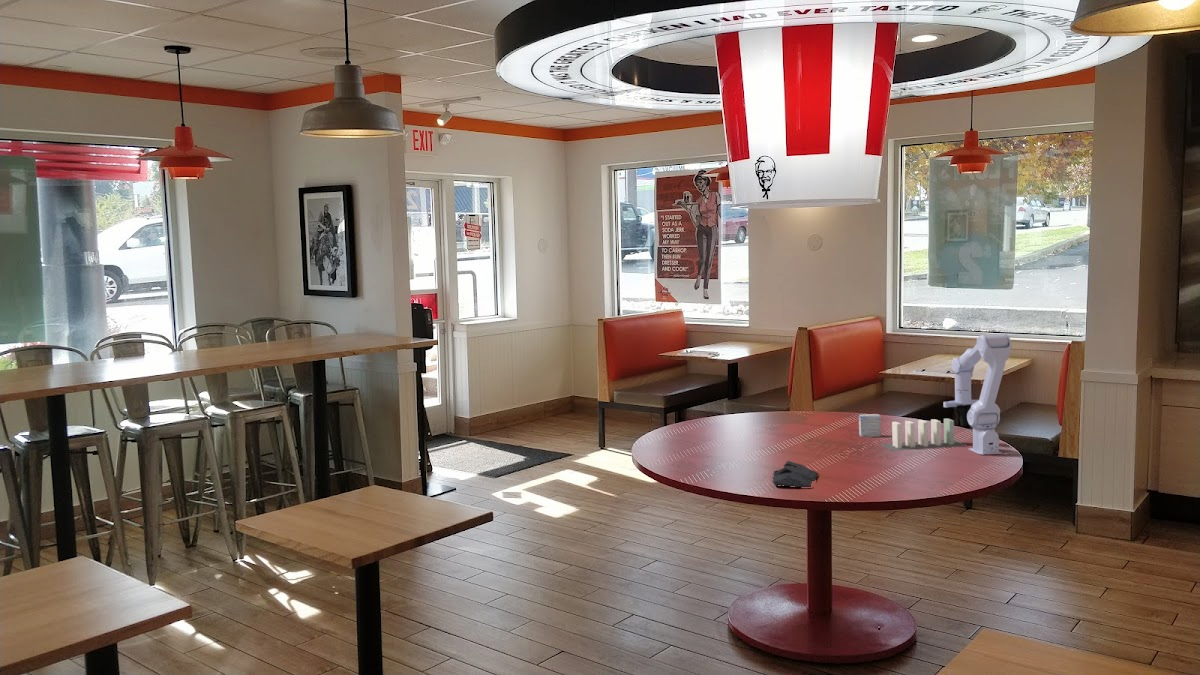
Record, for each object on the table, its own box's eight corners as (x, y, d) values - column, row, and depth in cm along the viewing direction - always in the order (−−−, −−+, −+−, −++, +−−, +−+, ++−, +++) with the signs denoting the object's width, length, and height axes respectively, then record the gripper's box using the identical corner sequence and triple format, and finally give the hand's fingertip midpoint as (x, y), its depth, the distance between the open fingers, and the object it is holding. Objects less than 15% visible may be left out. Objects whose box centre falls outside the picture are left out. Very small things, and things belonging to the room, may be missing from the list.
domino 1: (896, 445, 350) (896, 421, 349) (901, 447, 345) (901, 423, 344) (892, 445, 350) (892, 421, 349) (897, 448, 345) (897, 424, 344)
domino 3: (922, 443, 351) (922, 420, 350) (928, 446, 346) (927, 422, 345) (918, 443, 351) (918, 420, 350) (923, 446, 346) (923, 422, 345)
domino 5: (948, 441, 351) (947, 418, 351) (954, 444, 346) (953, 420, 346) (944, 442, 351) (943, 418, 350) (950, 444, 346) (949, 420, 345)
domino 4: (935, 442, 351) (935, 419, 350) (941, 445, 346) (940, 421, 345) (931, 442, 351) (930, 419, 350) (937, 445, 346) (936, 421, 345)
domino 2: (909, 444, 350) (909, 420, 350) (915, 447, 345) (914, 423, 345) (905, 444, 350) (905, 421, 349) (910, 447, 345) (910, 423, 344)
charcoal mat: (968, 446, 343) (968, 445, 343) (891, 451, 341) (891, 450, 341) (953, 440, 355) (953, 439, 355) (879, 445, 353) (879, 444, 353)
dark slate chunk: (766, 489, 298) (765, 475, 298) (774, 473, 319) (773, 459, 319) (814, 491, 294) (814, 476, 293) (820, 474, 314) (819, 460, 314)
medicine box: (879, 435, 372) (878, 413, 371) (881, 437, 368) (880, 415, 367) (859, 435, 373) (858, 414, 372) (861, 437, 368) (860, 416, 368)
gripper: (976, 386, 352) (977, 422, 353) (939, 389, 351) (940, 424, 352) (985, 389, 345) (986, 425, 346) (947, 391, 344) (948, 427, 345)
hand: (963, 425), depth 348 cm, fingers closed
